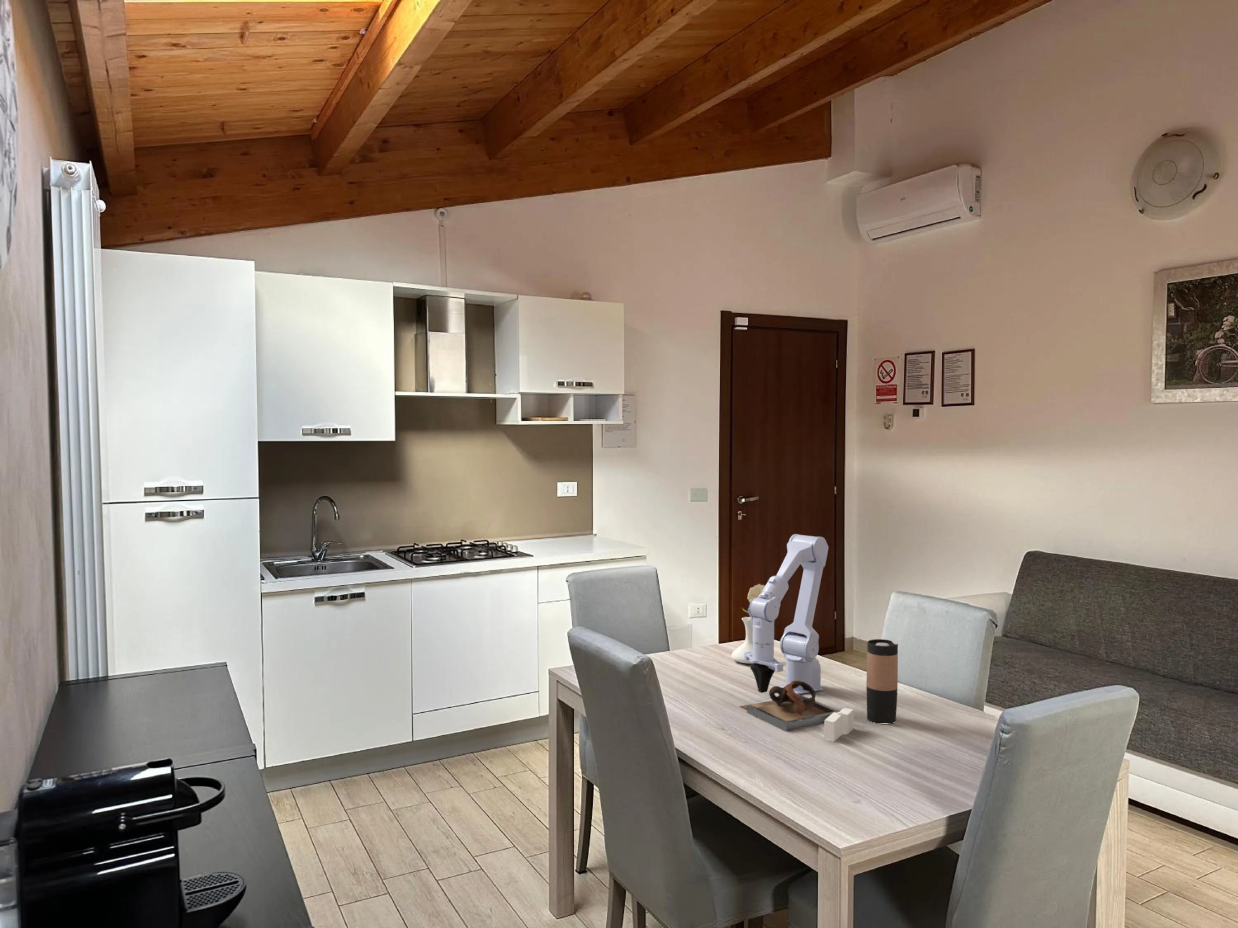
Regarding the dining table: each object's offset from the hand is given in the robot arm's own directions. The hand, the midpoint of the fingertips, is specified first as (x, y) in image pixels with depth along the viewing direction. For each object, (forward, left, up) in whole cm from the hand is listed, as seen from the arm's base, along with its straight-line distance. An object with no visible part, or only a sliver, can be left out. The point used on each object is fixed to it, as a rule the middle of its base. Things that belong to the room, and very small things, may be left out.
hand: (762, 691), depth 240 cm
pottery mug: (-2, +10, -2) cm, 10 cm away
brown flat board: (0, +10, -3) cm, 10 cm away
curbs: (0, +13, -3) cm, 13 cm away
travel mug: (-18, +26, -3) cm, 32 cm away
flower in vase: (-22, -34, -3) cm, 41 cm away
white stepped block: (-2, +29, -4) cm, 29 cm away
